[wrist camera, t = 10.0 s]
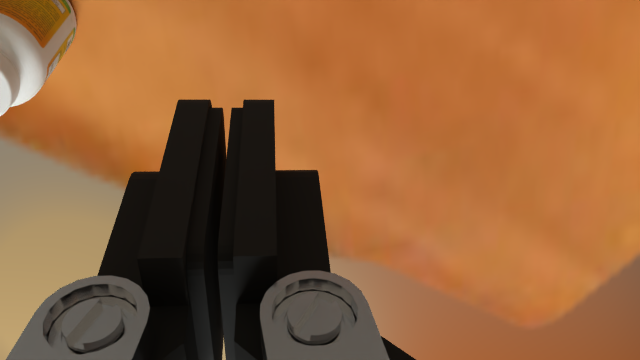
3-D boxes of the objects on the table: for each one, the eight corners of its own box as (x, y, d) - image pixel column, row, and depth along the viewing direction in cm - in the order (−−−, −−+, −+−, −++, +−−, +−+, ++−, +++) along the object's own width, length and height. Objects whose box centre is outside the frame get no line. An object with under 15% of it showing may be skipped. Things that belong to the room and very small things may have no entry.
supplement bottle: (-27, -31, 33) (-116, 32, 26) (67, -29, 34) (9, 34, 26) (0, 54, 37) (-72, 134, 29) (86, 55, 37) (38, 134, 29)
